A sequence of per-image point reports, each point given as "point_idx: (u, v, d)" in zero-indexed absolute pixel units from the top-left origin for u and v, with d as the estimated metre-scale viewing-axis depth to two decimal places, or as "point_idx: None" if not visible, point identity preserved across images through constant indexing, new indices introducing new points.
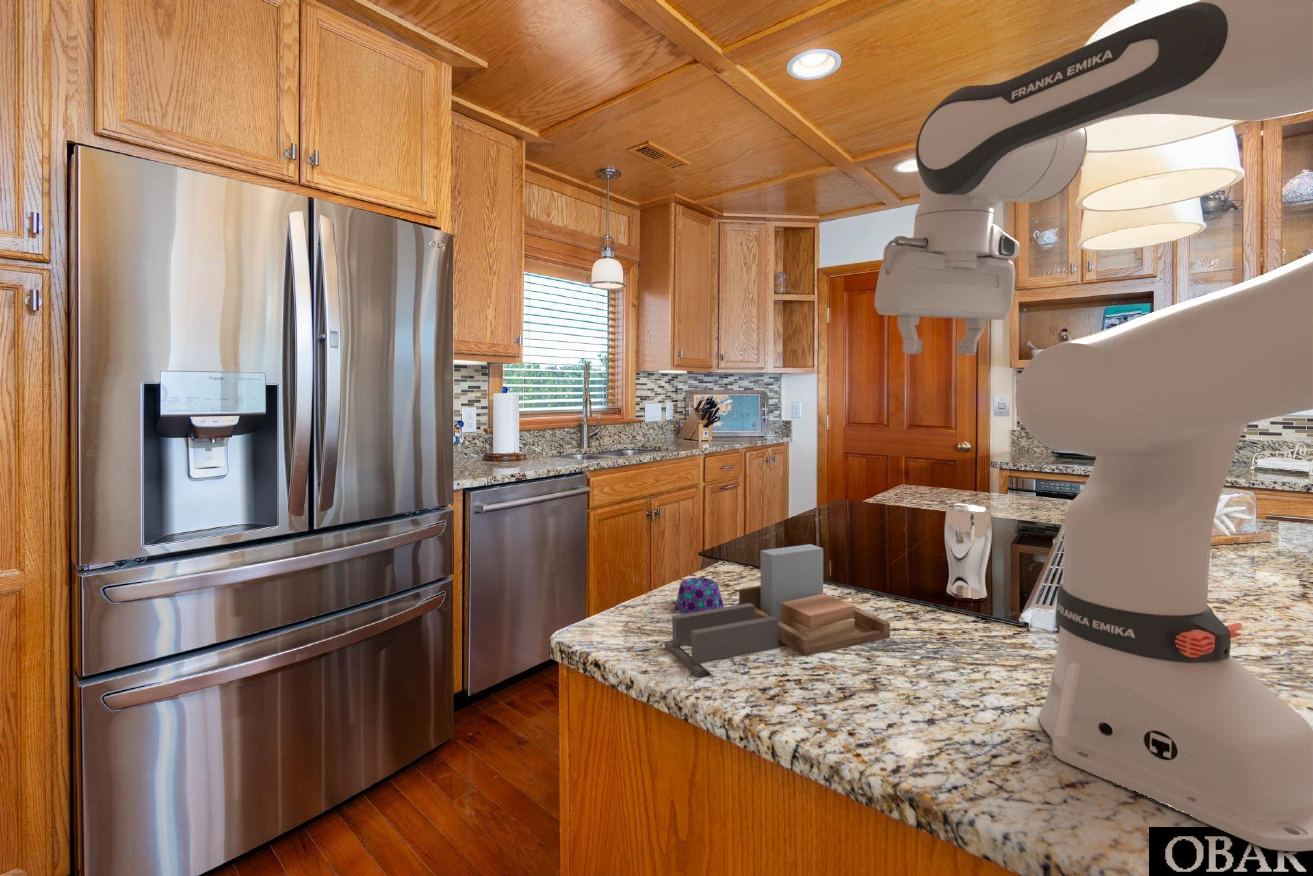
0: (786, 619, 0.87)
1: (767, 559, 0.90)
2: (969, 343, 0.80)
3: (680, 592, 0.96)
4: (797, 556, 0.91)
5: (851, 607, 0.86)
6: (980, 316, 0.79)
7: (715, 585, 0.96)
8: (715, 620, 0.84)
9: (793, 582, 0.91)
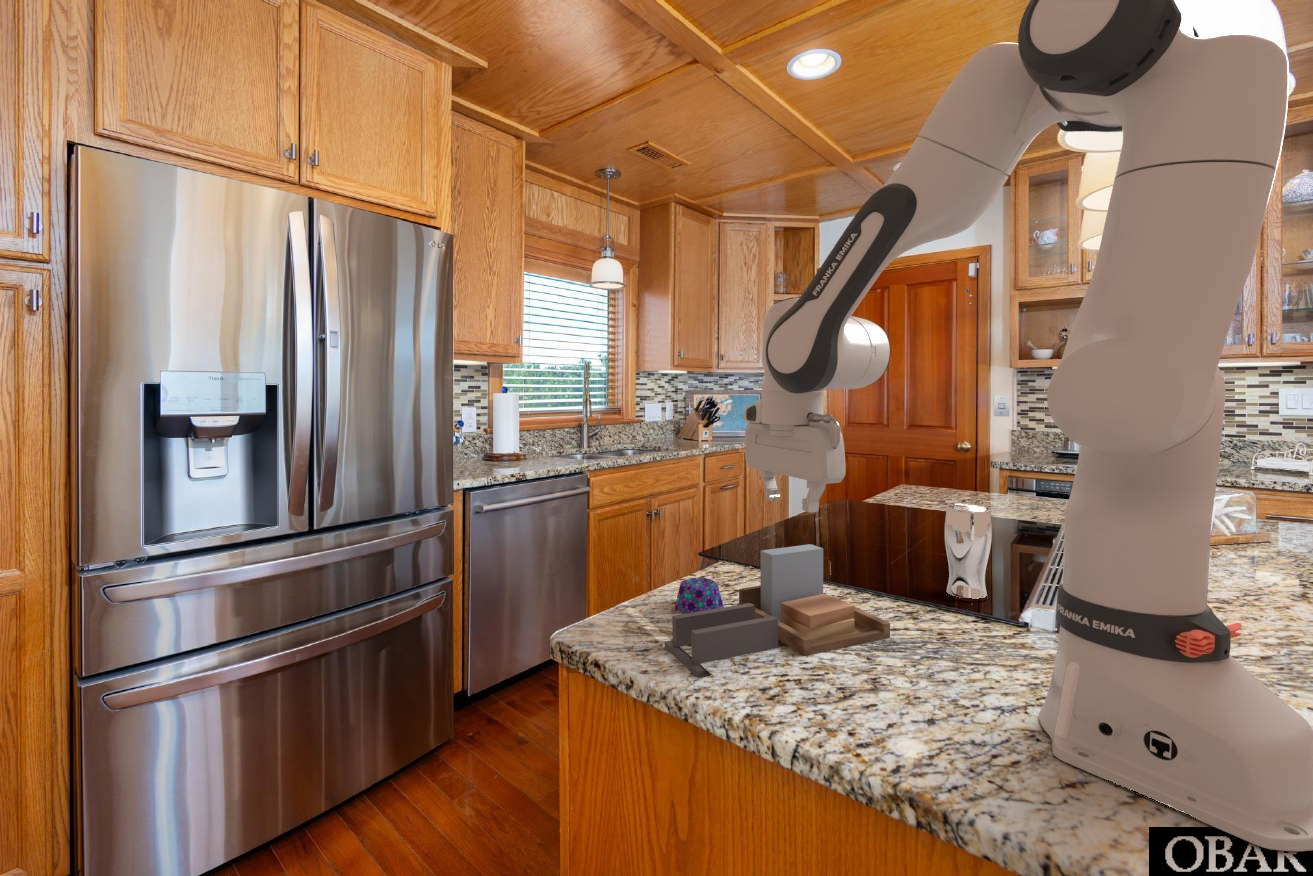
0: (786, 619, 0.87)
1: (767, 559, 0.90)
2: (779, 491, 0.96)
3: (680, 592, 0.96)
4: (797, 556, 0.91)
5: (851, 607, 0.86)
6: None
7: (715, 585, 0.96)
8: (715, 620, 0.84)
9: (793, 582, 0.91)
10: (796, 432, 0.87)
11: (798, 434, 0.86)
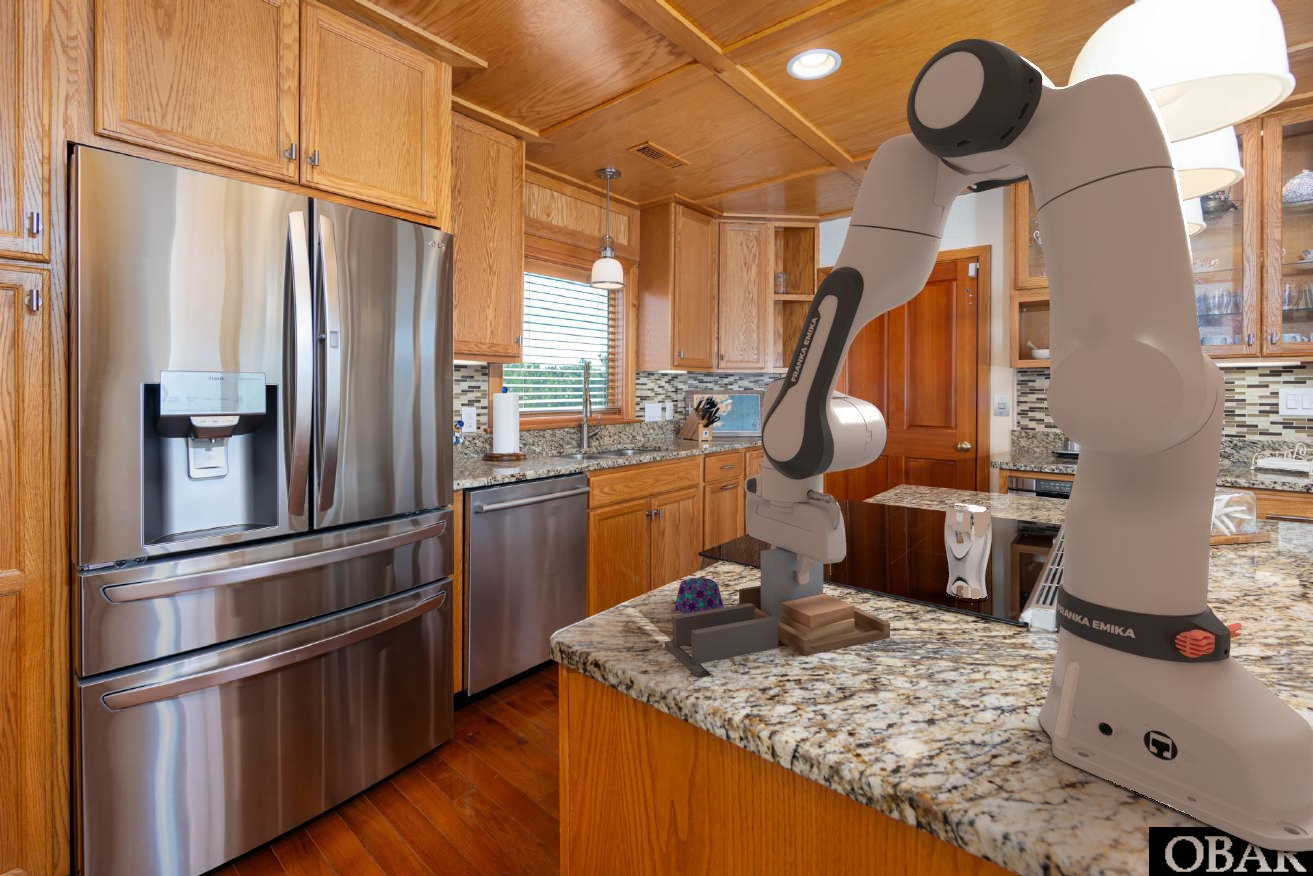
0: (786, 619, 0.87)
1: (767, 559, 0.90)
2: None
3: (680, 592, 0.96)
4: None
5: (851, 607, 0.86)
6: None
7: (715, 585, 0.96)
8: (715, 620, 0.84)
9: (793, 582, 0.91)
10: (796, 509, 0.88)
11: (798, 511, 0.87)
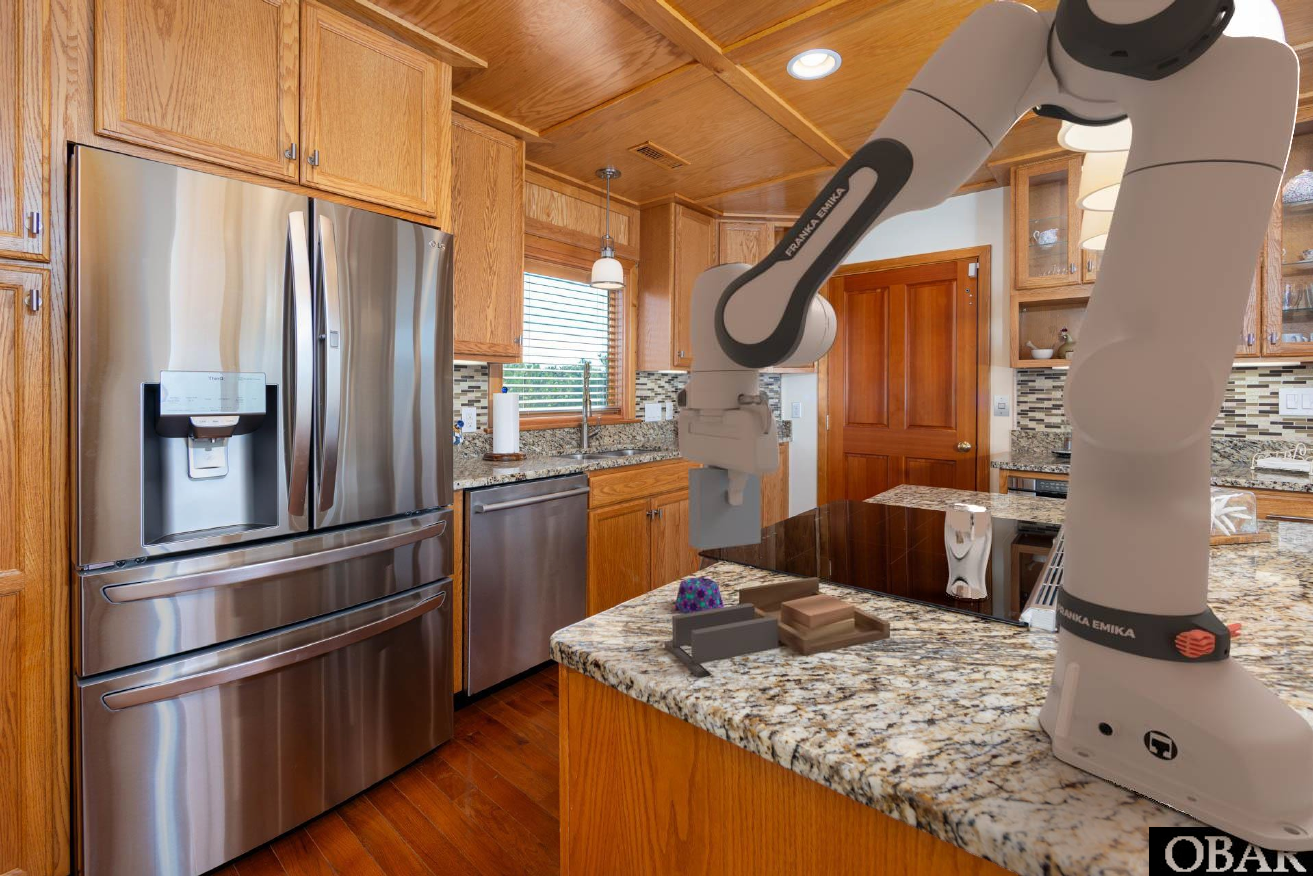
0: (786, 619, 0.87)
1: (695, 477, 0.79)
2: None
3: (681, 593, 0.96)
4: None
5: (851, 607, 0.86)
6: None
7: (715, 585, 0.96)
8: (715, 620, 0.84)
9: (725, 504, 0.79)
10: (726, 417, 0.76)
11: (728, 419, 0.76)
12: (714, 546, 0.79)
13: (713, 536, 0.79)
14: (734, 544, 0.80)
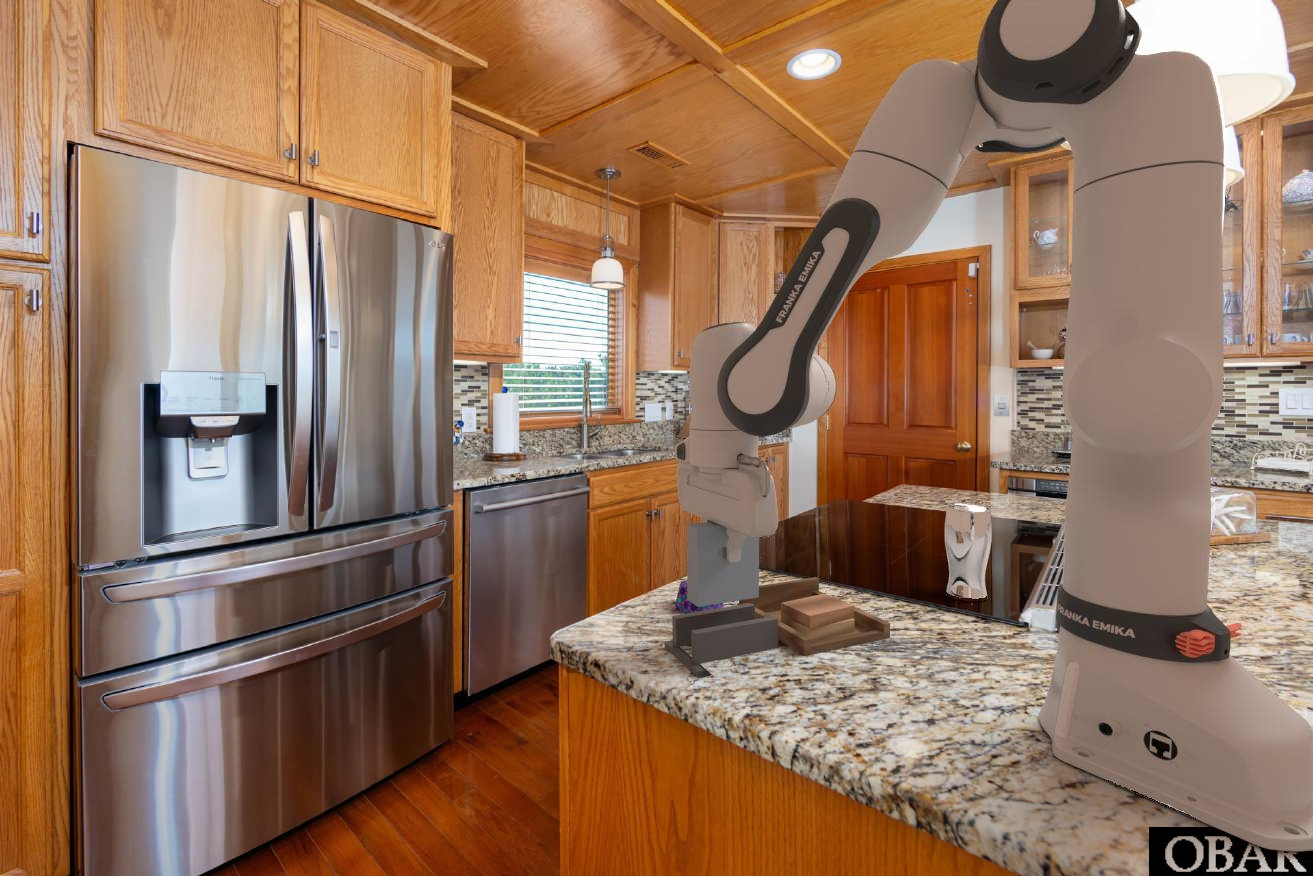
0: (786, 619, 0.87)
1: (693, 534, 0.79)
2: None
3: (681, 593, 0.95)
4: None
5: (851, 607, 0.86)
6: None
7: None
8: (715, 620, 0.84)
9: (724, 560, 0.80)
10: (725, 476, 0.76)
11: (727, 478, 0.76)
12: (712, 602, 0.79)
13: (712, 592, 0.79)
14: (732, 599, 0.81)
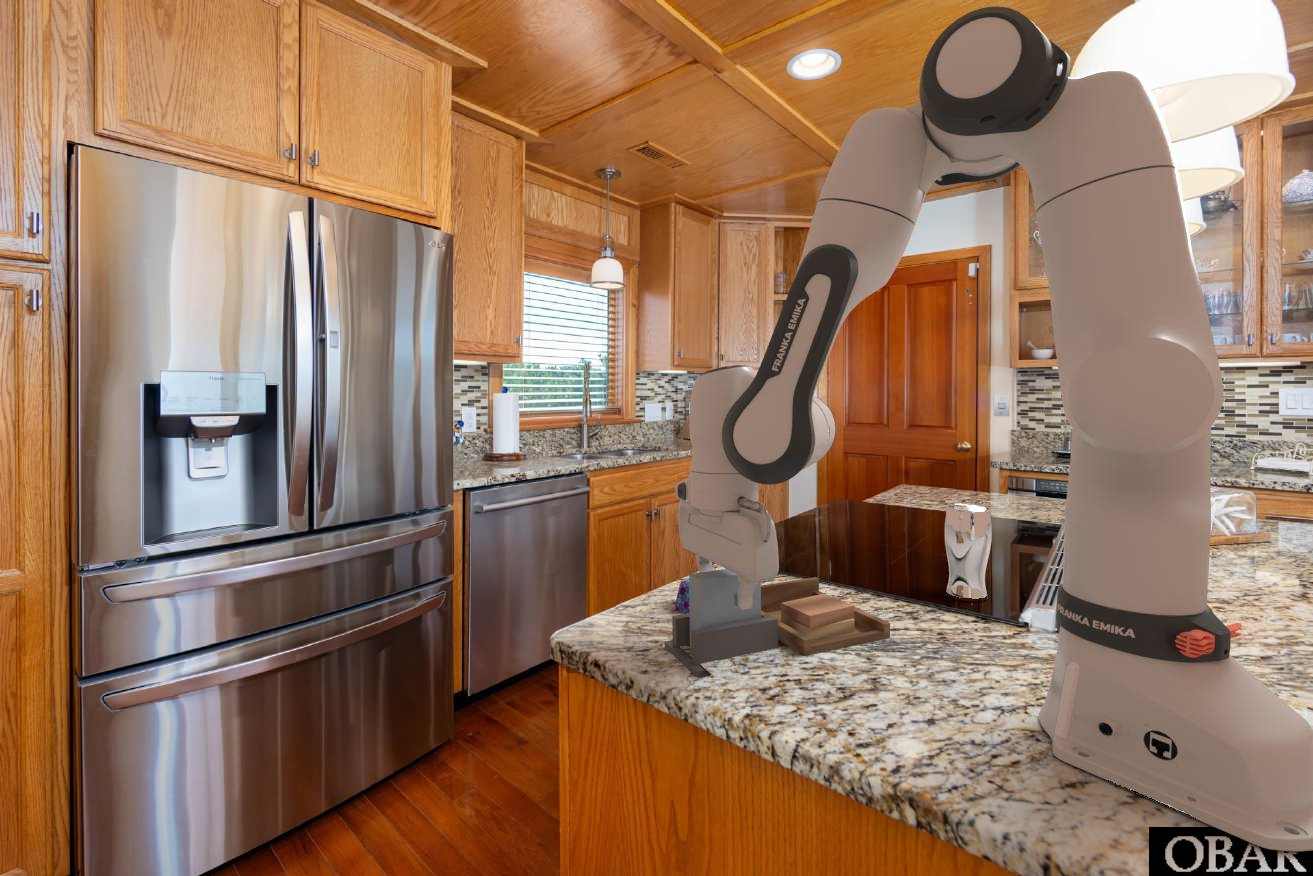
0: (786, 619, 0.87)
1: (695, 585, 0.79)
2: None
3: (681, 593, 0.95)
4: (729, 581, 0.80)
5: (851, 607, 0.86)
6: None
7: None
8: None
9: (726, 610, 0.80)
10: (726, 519, 0.77)
11: (728, 521, 0.76)
12: None
13: None
14: None
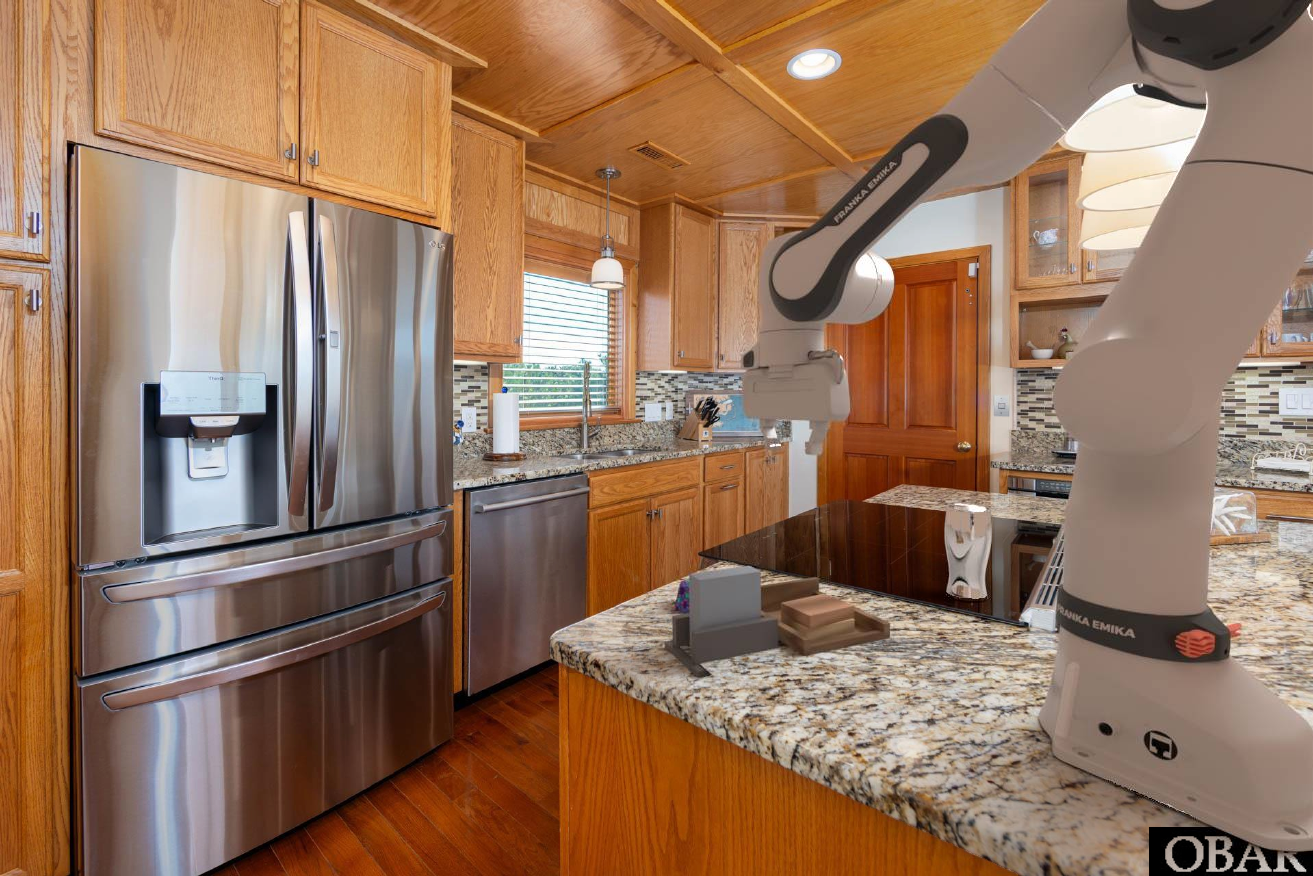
0: (786, 619, 0.87)
1: (695, 585, 0.79)
2: (779, 440, 0.92)
3: (680, 593, 0.95)
4: (729, 581, 0.80)
5: (851, 607, 0.86)
6: None
7: None
8: None
9: (726, 610, 0.80)
10: (797, 372, 0.83)
11: (799, 373, 0.83)
12: None
13: None
14: None
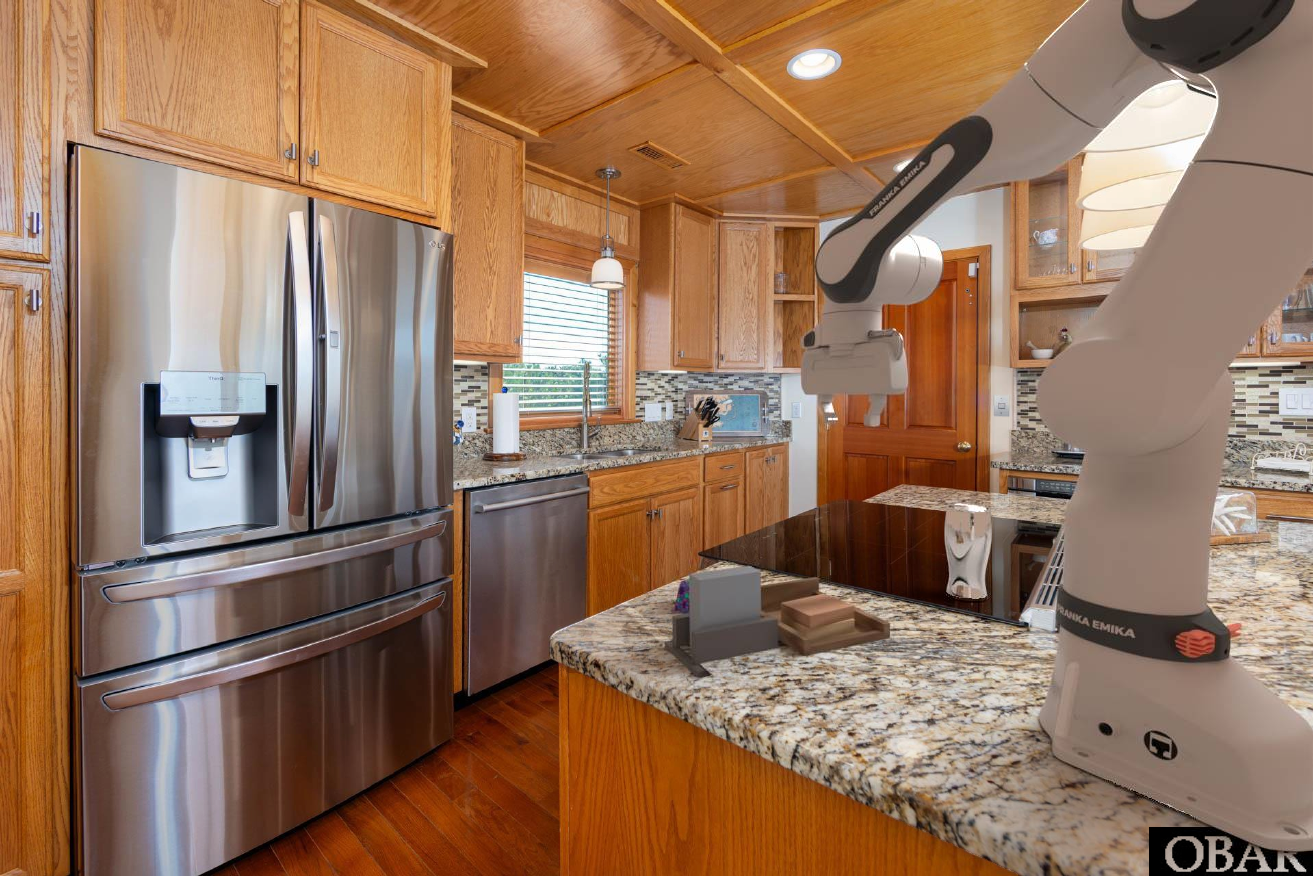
0: (786, 619, 0.87)
1: (695, 585, 0.79)
2: (836, 414, 1.00)
3: (680, 592, 0.96)
4: (729, 581, 0.80)
5: (851, 607, 0.86)
6: None
7: None
8: None
9: (726, 610, 0.80)
10: (857, 350, 0.91)
11: (860, 351, 0.90)
12: None
13: None
14: None
